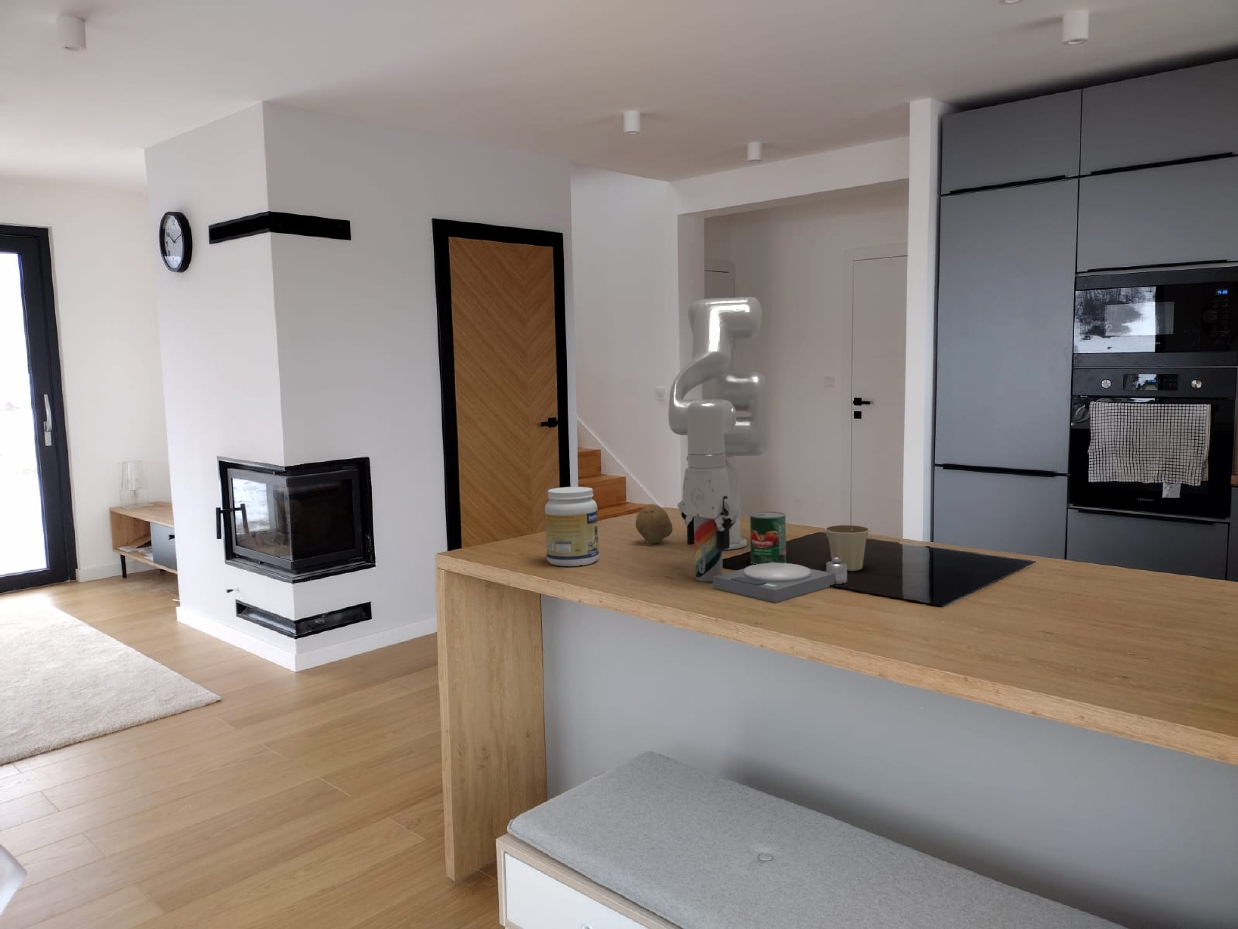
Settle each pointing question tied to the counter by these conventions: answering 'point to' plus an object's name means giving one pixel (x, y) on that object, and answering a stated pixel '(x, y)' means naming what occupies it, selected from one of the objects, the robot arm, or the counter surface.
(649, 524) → the brown rounded lump
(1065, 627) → the counter surface
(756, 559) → the canned tomato
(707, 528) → the lotion bottle
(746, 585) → the kitchen scale
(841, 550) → the flower pot
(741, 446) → the robot arm
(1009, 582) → the counter surface
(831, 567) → the calibration weight
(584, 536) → the supplement tub
